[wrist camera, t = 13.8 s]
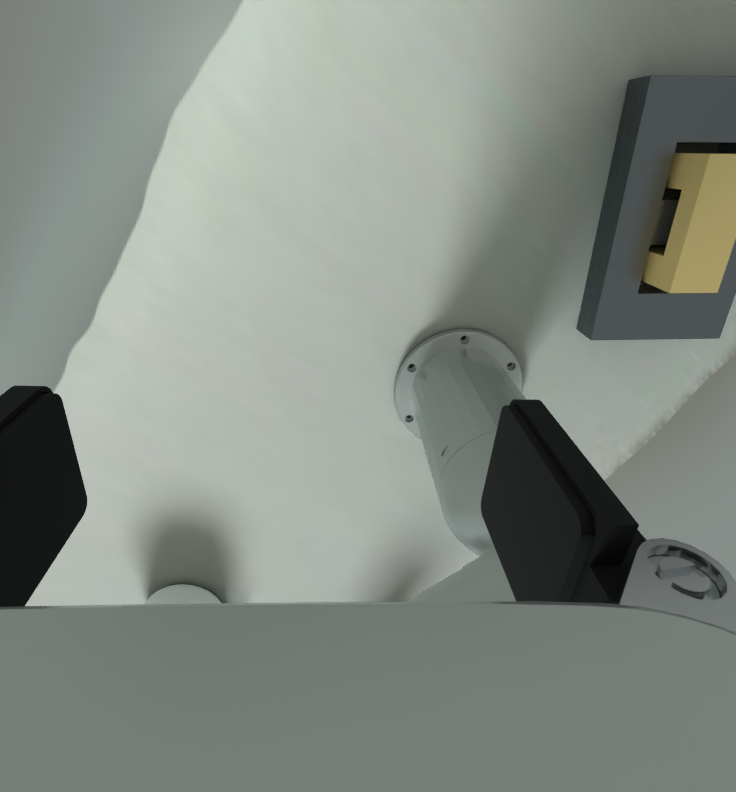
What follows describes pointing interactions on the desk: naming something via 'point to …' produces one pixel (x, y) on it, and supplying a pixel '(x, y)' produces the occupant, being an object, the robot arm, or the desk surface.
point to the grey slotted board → (655, 212)
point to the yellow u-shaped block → (697, 225)
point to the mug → (182, 595)
